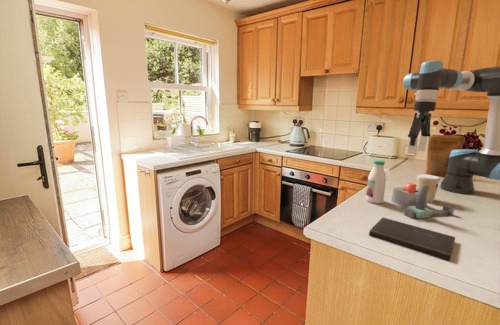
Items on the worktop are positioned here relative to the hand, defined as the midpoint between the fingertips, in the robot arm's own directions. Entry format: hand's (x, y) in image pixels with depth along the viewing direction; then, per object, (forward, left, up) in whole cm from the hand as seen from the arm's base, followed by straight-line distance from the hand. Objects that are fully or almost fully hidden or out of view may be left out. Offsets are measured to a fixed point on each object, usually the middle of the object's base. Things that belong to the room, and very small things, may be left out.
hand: (416, 152), depth 112 cm
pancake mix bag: (-71, -49, -26) cm, 90 cm away
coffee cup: (-19, -10, -26) cm, 34 cm away
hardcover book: (+20, +23, -27) cm, 41 cm away
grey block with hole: (-5, -5, -26) cm, 27 cm away
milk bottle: (+8, -12, -26) cm, 30 cm away
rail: (-4, +7, -26) cm, 27 cm away
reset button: (-5, -5, -22) cm, 23 cm away
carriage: (+1, +7, -26) cm, 27 cm away
